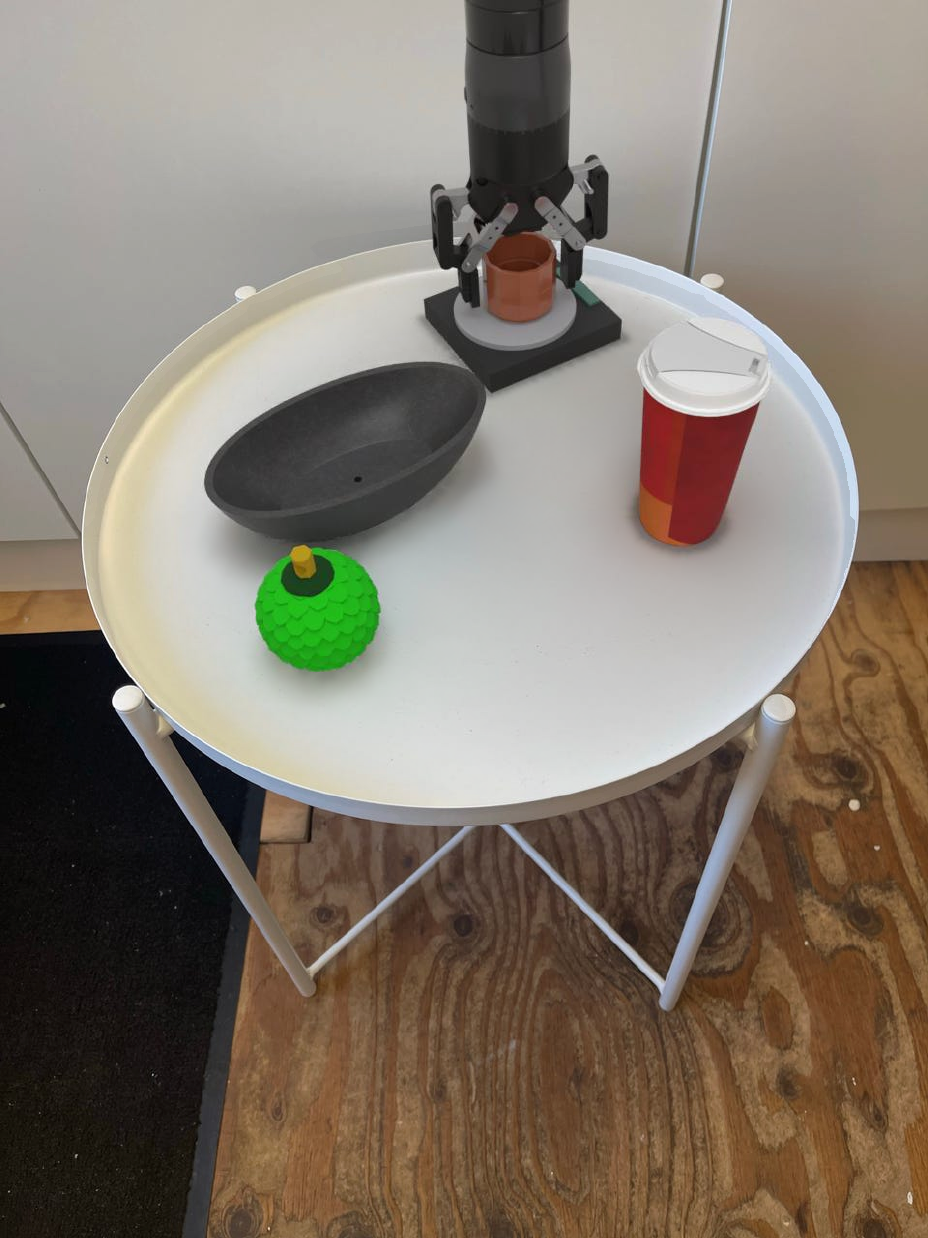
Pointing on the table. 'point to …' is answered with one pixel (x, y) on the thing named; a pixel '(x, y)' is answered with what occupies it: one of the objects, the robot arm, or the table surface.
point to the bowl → (347, 451)
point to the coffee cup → (696, 423)
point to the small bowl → (520, 277)
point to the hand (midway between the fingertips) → (520, 292)
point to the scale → (522, 333)
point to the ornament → (317, 609)
